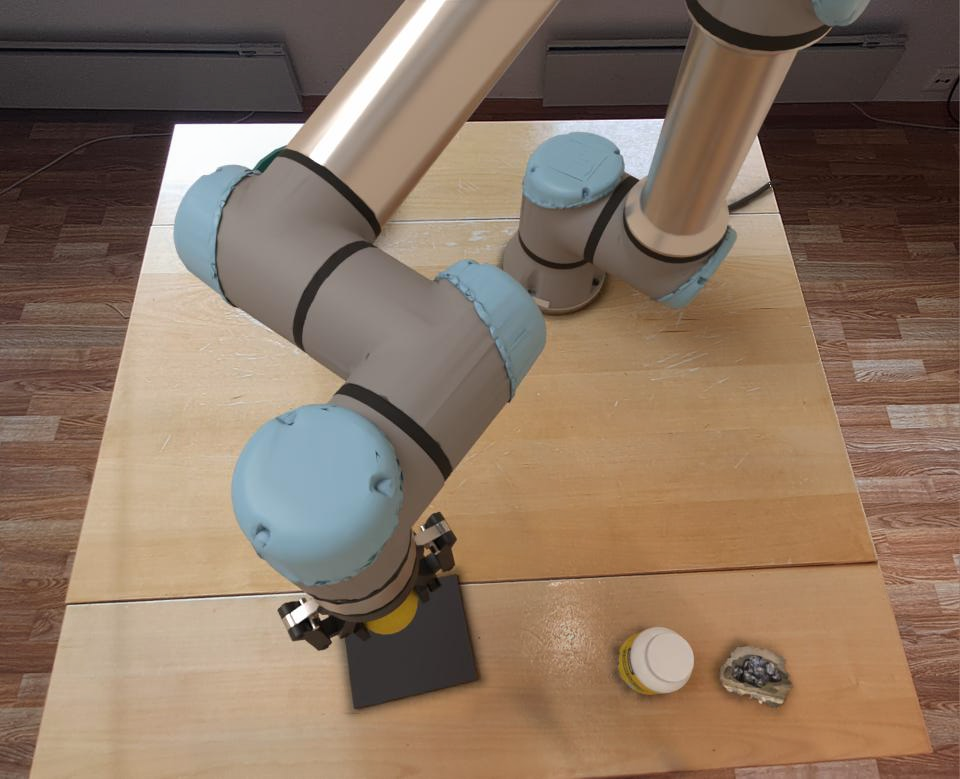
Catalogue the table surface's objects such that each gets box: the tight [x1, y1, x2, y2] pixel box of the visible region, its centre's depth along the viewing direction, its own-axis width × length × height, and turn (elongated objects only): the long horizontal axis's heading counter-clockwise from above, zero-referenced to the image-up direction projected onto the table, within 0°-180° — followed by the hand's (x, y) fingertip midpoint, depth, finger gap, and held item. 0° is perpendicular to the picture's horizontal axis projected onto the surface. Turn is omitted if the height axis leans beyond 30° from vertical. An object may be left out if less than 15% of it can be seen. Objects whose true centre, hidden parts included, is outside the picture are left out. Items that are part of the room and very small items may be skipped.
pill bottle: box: [616, 626, 695, 696], centre depth 74 cm, size 6×6×12 cm
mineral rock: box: [718, 645, 794, 709], centre depth 78 cm, size 7×8×2 cm
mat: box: [344, 573, 478, 710], centre depth 79 cm, size 14×12×1 cm
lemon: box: [362, 587, 418, 634], centre depth 61 cm, size 6×6×8 cm
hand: (390, 607), depth 64 cm, fingers closed on lemon, 6 cm apart
